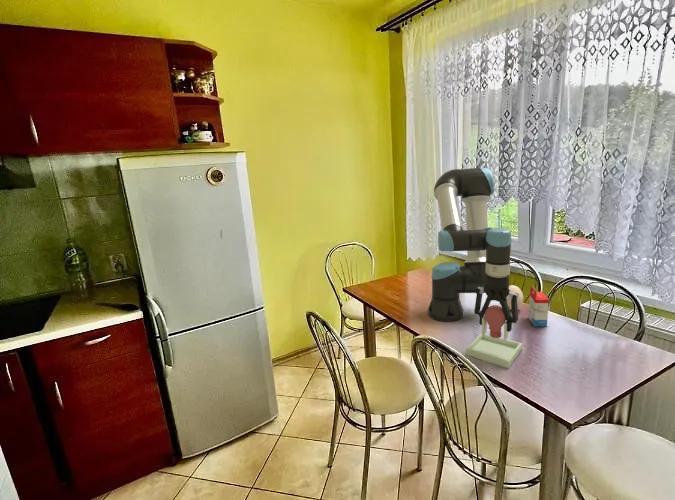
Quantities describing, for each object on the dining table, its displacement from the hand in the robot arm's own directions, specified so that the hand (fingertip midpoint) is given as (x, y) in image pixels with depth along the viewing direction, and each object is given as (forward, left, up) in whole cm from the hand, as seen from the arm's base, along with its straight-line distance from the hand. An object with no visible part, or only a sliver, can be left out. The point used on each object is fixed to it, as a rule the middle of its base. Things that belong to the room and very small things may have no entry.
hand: (494, 336), depth 131 cm
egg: (-6, +40, -7) cm, 41 cm away
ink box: (+6, +33, -7) cm, 34 cm away
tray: (0, 0, -7) cm, 7 cm away
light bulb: (0, 0, -1) cm, 1 cm away
